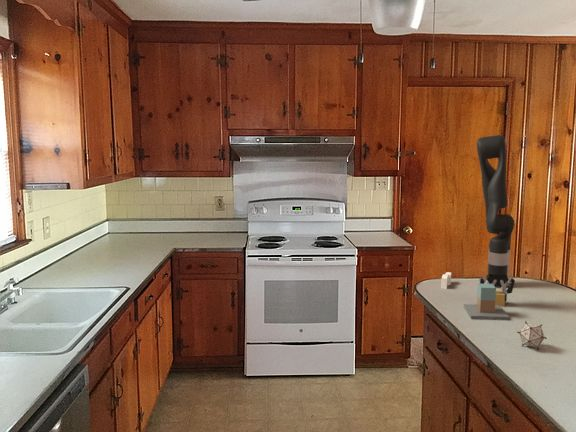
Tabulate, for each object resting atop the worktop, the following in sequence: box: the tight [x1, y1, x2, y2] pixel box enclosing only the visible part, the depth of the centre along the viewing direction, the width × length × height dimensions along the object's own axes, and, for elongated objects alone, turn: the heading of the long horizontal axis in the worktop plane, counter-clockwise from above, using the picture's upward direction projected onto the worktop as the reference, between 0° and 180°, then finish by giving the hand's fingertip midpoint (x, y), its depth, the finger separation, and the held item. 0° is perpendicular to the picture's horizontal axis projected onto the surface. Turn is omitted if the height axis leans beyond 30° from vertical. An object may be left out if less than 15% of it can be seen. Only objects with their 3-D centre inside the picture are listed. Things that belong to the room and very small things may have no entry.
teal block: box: [476, 283, 497, 301], centre depth 207 cm, size 6×6×5 cm
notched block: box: [440, 271, 452, 290], centre depth 246 cm, size 15×11×6 cm
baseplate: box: [463, 296, 510, 321], centre depth 207 cm, size 14×14×6 cm
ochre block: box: [495, 290, 506, 307], centre depth 218 cm, size 6×6×5 cm
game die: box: [516, 320, 548, 351], centre depth 175 cm, size 9×8×10 cm
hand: (495, 302), depth 219 cm, fingers closed on ochre block, 5 cm apart
